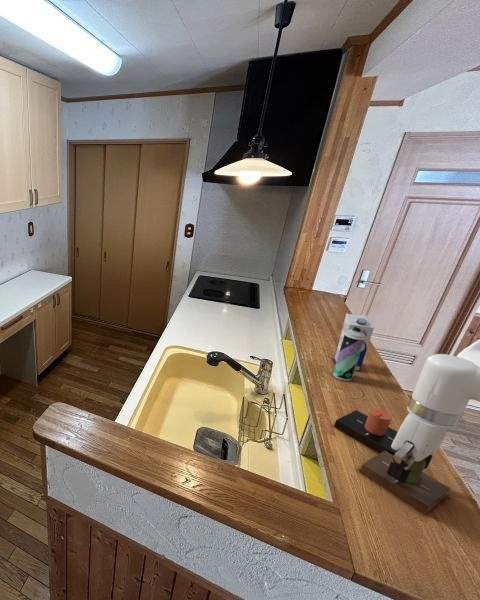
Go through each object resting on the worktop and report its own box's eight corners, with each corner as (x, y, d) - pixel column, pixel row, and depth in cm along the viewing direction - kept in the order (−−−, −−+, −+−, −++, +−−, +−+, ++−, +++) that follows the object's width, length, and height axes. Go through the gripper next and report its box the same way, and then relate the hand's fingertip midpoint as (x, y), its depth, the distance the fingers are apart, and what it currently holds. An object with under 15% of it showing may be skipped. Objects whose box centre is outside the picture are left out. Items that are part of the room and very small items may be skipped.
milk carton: (354, 362, 126) (369, 315, 119) (360, 371, 120) (376, 322, 113) (332, 359, 129) (346, 312, 122) (337, 367, 123) (351, 319, 116)
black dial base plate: (413, 449, 86) (417, 441, 85) (393, 462, 82) (397, 454, 81) (353, 416, 98) (356, 409, 97) (333, 426, 94) (336, 419, 93)
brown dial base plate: (446, 496, 73) (450, 487, 72) (424, 514, 69) (428, 505, 68) (381, 457, 83) (385, 449, 82) (359, 471, 79) (362, 463, 79)
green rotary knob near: (397, 465, 78) (405, 446, 76) (421, 479, 74) (430, 459, 72) (388, 471, 76) (395, 452, 74) (412, 486, 73) (421, 467, 71)
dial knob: (369, 422, 92) (375, 405, 90) (388, 432, 88) (395, 415, 86) (361, 427, 90) (367, 410, 88) (380, 438, 86) (387, 420, 84)
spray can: (331, 371, 121) (346, 322, 114) (350, 375, 118) (366, 325, 111) (333, 378, 117) (348, 328, 110) (352, 382, 114) (369, 331, 107)
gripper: (430, 390, 75) (406, 447, 81) (389, 411, 69) (366, 471, 75) (477, 409, 69) (447, 470, 75) (436, 434, 62) (407, 498, 68)
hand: (406, 470), depth 75 cm, fingers open, 8 cm apart
